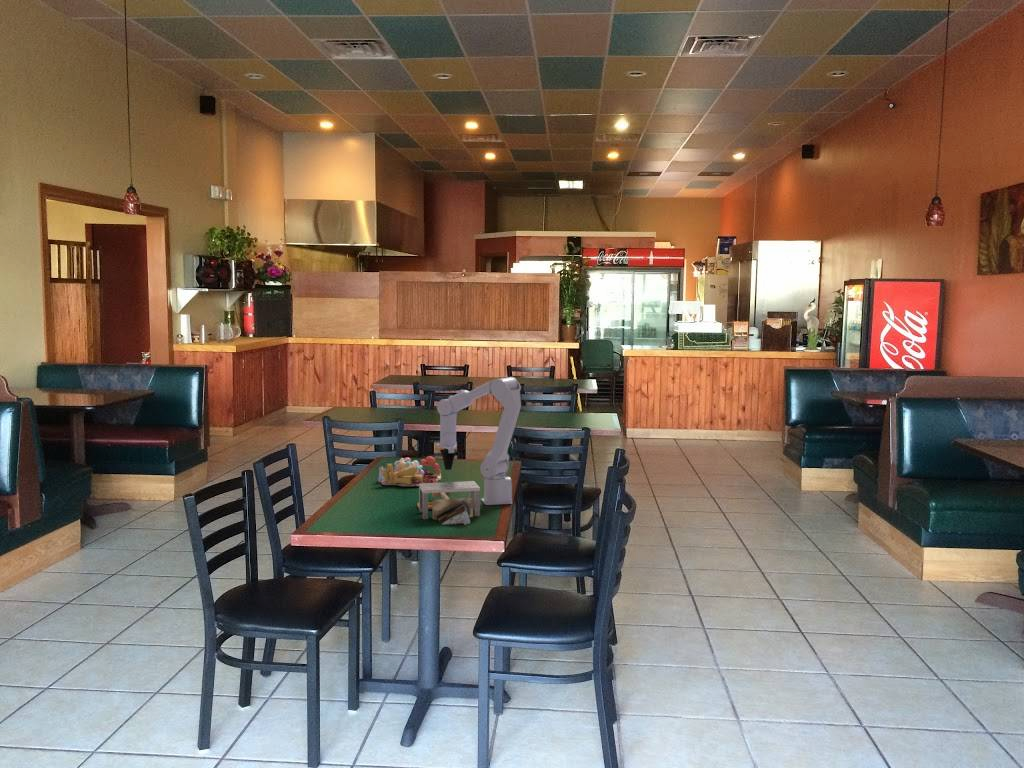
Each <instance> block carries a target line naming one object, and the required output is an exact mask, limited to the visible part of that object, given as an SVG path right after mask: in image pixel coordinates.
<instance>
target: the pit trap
mask: <svg viewBox="0 0 1024 768" xmlns="http://www.w3.org/2000/svg"><path fill="white" fill-rule="evenodd" d="M416 505H417V509H418V510H419V502H417V504H416ZM431 510H432V501H431V502H429V501H428V511H431Z"/></svg>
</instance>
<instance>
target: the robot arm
mask: <svg viewBox="0 0 1024 768" xmlns="http://www.w3.org/2000/svg"><path fill="white" fill-rule="evenodd" d="M521 390H522V386H521V384H520V383H519V381H518V380H517V378H516V377H514V376H508V377H503V378H494V379H493V380H490V381H487V382H485V383H483V384H481V385H480V386H477V387H475V388H473V389H472V390H467V389H460V390H458V391H457V393H456V394H454V395H449V396H448V398H445V399H444V398H442V399H440V400H439V401H438V403H437V405H436V409H437V412H438V414H439V416H440V419H439V427H440V429H439V431H440V432H439V436H440V437H439V442H440V443H437V444H436V447H438V448H442V449H439V452H440V454H441V457H442V460H443V461H442V462H443V466H444V469H445V471H447V470H449V471H450V470H452V467H453V464H454V459H455V457H456V454H457V452H458V451H457V450H456V447H457V446H458V444H457V417H458V413H459V411H462V410H463V409H465V408H467V407H470V406H472V405H473V403H474V400H476V399H478V398H481V397H483V396H486V395H488V394H489V395H492V396H494V397H495V399H496V400H497V401H498V402H499V403H500V404H501V405H502V407H503V411H502V413H501V417H500V420H499V423H498V427H497V430H496V434H495V438H494V441H493V443H492V447H491V449H490V450H489V452H488V453H487V454H486V456H485V458H484V460H483V461H482V462H481V464H480V467H479V469H480V473H481V475H482V476H483V479H484V481H483V482H484V483H483V492H484V493H483V497H482V498H480V501H482V503H483V504H484V505H486V506H493V505H494V506H495V505H509V504H510V505H512V504H513V497H512V496H513V483H512V478H511V477H510V476H506V473H507V472H508V471H509V468H510V465H509V460H510V455H509V454H508V450H509V448H510V445H511V441H512V437H513V434H514V431H515V428H516V424H517V421H518V418H519V414H520V411H521V408H522V402H521V401H522V400H521Z"/></svg>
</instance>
